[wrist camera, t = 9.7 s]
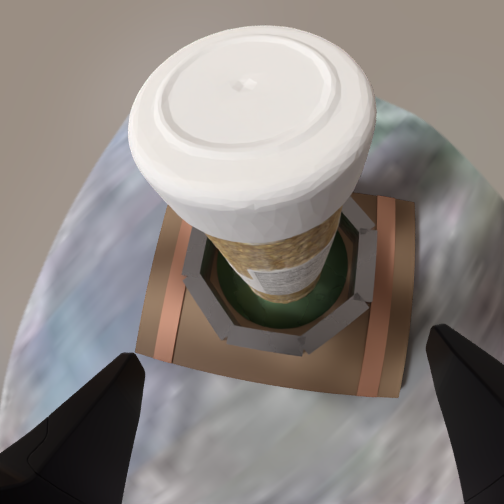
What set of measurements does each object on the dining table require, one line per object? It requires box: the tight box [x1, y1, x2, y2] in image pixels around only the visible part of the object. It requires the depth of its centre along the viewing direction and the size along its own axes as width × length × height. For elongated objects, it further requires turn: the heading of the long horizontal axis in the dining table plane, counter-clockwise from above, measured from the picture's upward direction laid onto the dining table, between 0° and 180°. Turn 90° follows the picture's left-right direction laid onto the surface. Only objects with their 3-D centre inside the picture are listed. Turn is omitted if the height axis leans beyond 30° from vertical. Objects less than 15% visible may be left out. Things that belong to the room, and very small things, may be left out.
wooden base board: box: [135, 192, 415, 398], centre depth 18 cm, size 12×16×1 cm
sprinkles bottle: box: [128, 26, 377, 304], centre depth 11 cm, size 5×5×13 cm
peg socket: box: [181, 196, 378, 357], centre depth 16 cm, size 10×10×2 cm
